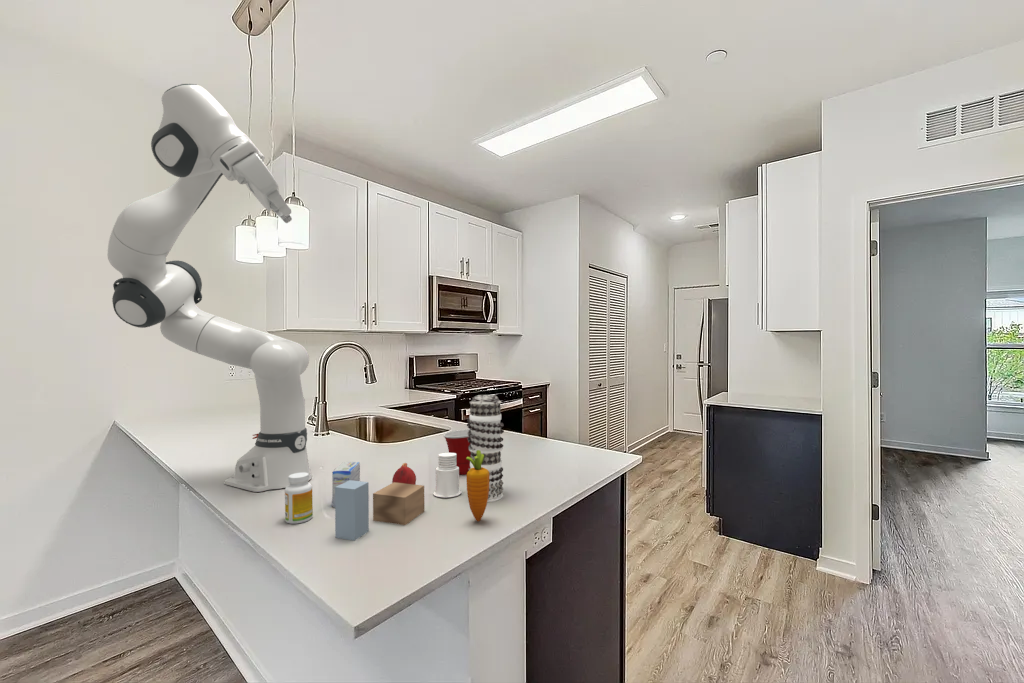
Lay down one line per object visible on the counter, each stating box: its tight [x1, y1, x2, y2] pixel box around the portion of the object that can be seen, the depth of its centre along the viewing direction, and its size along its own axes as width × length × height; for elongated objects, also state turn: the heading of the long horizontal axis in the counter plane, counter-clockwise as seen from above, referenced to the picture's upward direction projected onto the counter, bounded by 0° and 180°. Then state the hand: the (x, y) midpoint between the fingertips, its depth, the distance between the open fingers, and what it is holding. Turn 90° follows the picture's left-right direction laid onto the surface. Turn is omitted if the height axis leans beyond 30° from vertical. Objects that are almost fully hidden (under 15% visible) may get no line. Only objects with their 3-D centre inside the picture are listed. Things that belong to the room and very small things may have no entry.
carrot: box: [465, 450, 489, 523], centre depth 95 cm, size 5×5×15 cm
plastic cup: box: [442, 428, 471, 476], centre depth 131 cm, size 11×11×12 cm
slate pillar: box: [334, 480, 370, 542], centre depth 89 cm, size 4×4×10 cm
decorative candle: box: [466, 394, 505, 503], centre depth 110 cm, size 9×9×25 cm
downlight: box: [432, 452, 462, 499], centre depth 113 cm, size 8×7×10 cm
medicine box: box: [331, 461, 361, 509], centre depth 107 cm, size 8×4×9 cm, turn 5°
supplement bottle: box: [284, 472, 314, 525], centre depth 97 cm, size 5×5×10 cm
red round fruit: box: [391, 462, 417, 485], centre depth 112 cm, size 6×6×8 cm
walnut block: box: [372, 482, 425, 526], centre depth 98 cm, size 8×8×6 cm
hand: (289, 218), depth 97 cm, fingers open, 8 cm apart
